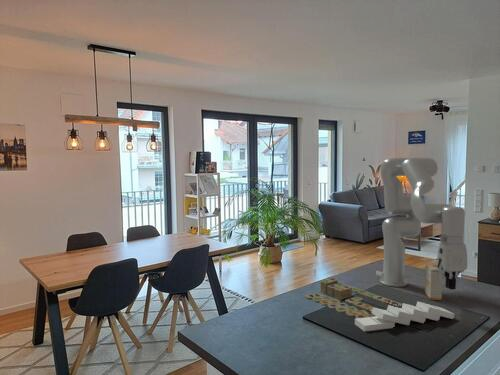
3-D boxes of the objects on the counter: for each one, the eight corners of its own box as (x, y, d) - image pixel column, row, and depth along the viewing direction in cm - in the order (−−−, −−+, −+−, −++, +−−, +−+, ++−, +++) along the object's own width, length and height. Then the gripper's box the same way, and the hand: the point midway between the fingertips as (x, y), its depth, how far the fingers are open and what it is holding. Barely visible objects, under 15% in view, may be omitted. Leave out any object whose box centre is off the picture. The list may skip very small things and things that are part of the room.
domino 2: (409, 325, 130) (382, 319, 127) (397, 318, 136) (371, 312, 132) (410, 319, 130) (383, 313, 127) (399, 313, 136) (372, 307, 132)
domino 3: (424, 323, 132) (397, 316, 129) (412, 317, 138) (386, 310, 134) (425, 317, 132) (399, 311, 129) (413, 311, 138) (388, 304, 134)
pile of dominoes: (301, 297, 159) (301, 285, 159) (343, 286, 175) (343, 274, 174) (368, 326, 131) (369, 311, 130) (412, 309, 146) (412, 296, 146)
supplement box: (442, 300, 155) (443, 269, 154) (429, 299, 156) (430, 269, 155) (436, 293, 163) (437, 264, 162) (424, 293, 164) (425, 264, 163)
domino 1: (394, 327, 129) (364, 331, 125) (383, 320, 135) (354, 324, 131) (394, 322, 129) (364, 325, 125) (384, 315, 134) (354, 318, 131)
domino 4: (438, 321, 134) (412, 314, 131) (426, 315, 140) (401, 308, 136) (440, 315, 134) (414, 308, 131) (427, 309, 140) (403, 302, 136)
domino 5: (453, 319, 136) (427, 312, 132) (440, 313, 142) (415, 306, 138) (454, 313, 136) (429, 307, 133) (442, 307, 142) (417, 301, 138)
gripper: (443, 243, 131) (441, 293, 133) (477, 240, 135) (475, 289, 137) (428, 238, 139) (426, 286, 140) (460, 237, 143) (458, 283, 144)
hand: (450, 288), depth 138 cm, fingers closed
